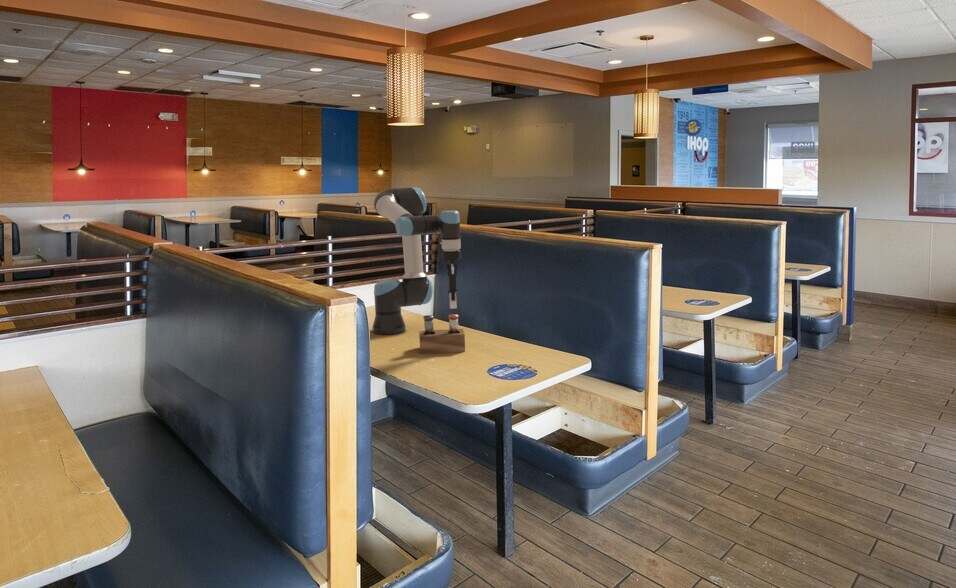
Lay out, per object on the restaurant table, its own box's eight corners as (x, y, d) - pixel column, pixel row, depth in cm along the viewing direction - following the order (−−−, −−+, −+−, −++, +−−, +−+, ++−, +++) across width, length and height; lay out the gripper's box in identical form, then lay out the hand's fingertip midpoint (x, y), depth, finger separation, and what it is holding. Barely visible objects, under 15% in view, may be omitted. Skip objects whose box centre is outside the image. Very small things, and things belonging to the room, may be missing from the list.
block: (420, 347, 270) (419, 330, 269) (463, 345, 271) (462, 328, 270) (420, 353, 260) (419, 336, 259) (465, 351, 262) (464, 334, 260)
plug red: (448, 332, 267) (447, 314, 265) (458, 331, 267) (458, 313, 266) (449, 334, 263) (448, 316, 261) (459, 334, 263) (458, 316, 262)
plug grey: (424, 333, 266) (423, 315, 265) (434, 332, 266) (433, 315, 265) (424, 335, 262) (423, 317, 260) (434, 335, 262) (433, 317, 261)
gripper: (441, 248, 265) (443, 305, 269) (442, 252, 252) (444, 311, 256) (459, 247, 265) (461, 304, 269) (461, 251, 252) (463, 310, 257)
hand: (453, 308), depth 263 cm, fingers closed
